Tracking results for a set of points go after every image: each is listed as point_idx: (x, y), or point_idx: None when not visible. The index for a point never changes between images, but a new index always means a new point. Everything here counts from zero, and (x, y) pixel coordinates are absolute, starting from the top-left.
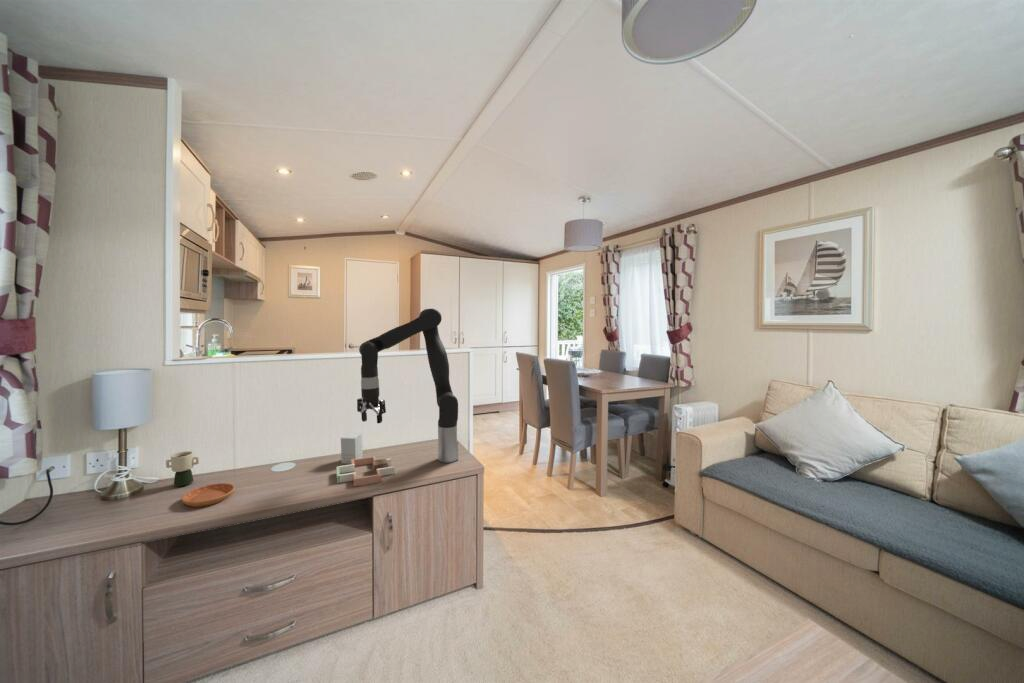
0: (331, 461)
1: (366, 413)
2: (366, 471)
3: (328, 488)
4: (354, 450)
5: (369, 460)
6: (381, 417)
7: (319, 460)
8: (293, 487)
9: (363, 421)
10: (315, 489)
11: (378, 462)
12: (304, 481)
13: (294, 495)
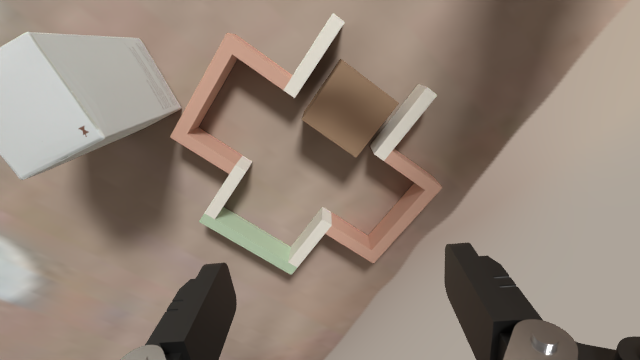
0: None
1: (188, 332)
2: (297, 138)
3: (305, 292)
4: (144, 123)
5: (227, 69)
6: (523, 308)
7: None
8: None
9: (235, 305)
10: (277, 313)
11: (349, 122)
12: None
13: (263, 356)
